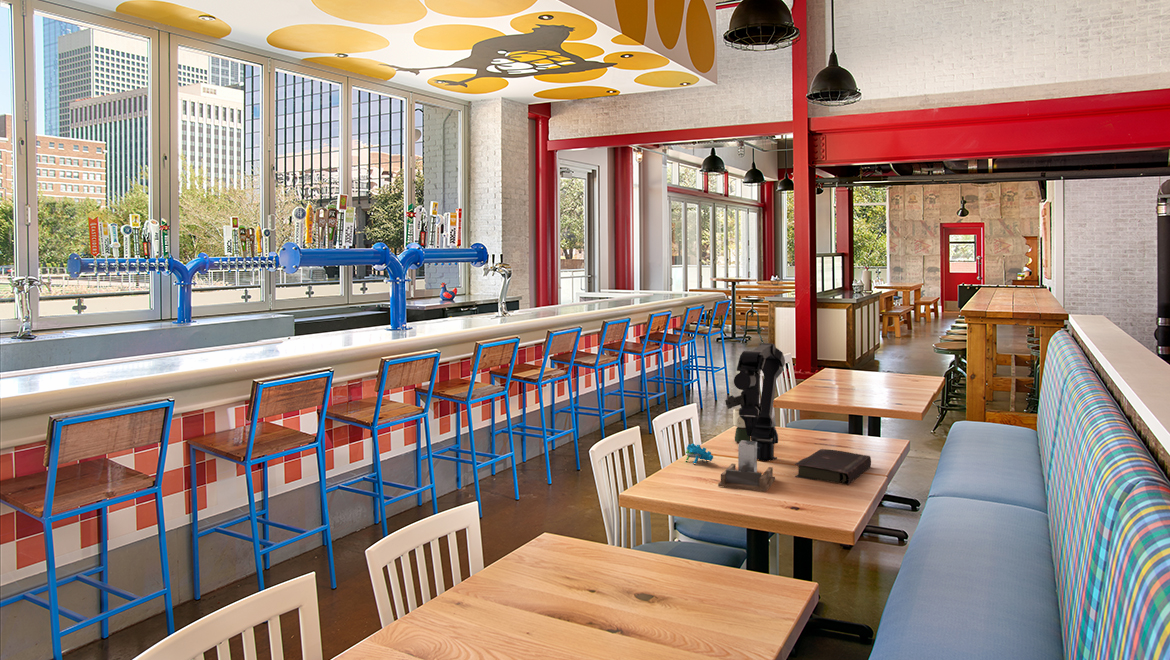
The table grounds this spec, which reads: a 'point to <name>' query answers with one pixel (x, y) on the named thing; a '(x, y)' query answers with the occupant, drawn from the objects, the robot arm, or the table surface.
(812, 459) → the diary
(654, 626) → the table surface
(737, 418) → the character mug
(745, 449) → the steel link block
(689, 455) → the blue spiky toy dinosaur
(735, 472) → the keeper cradle
